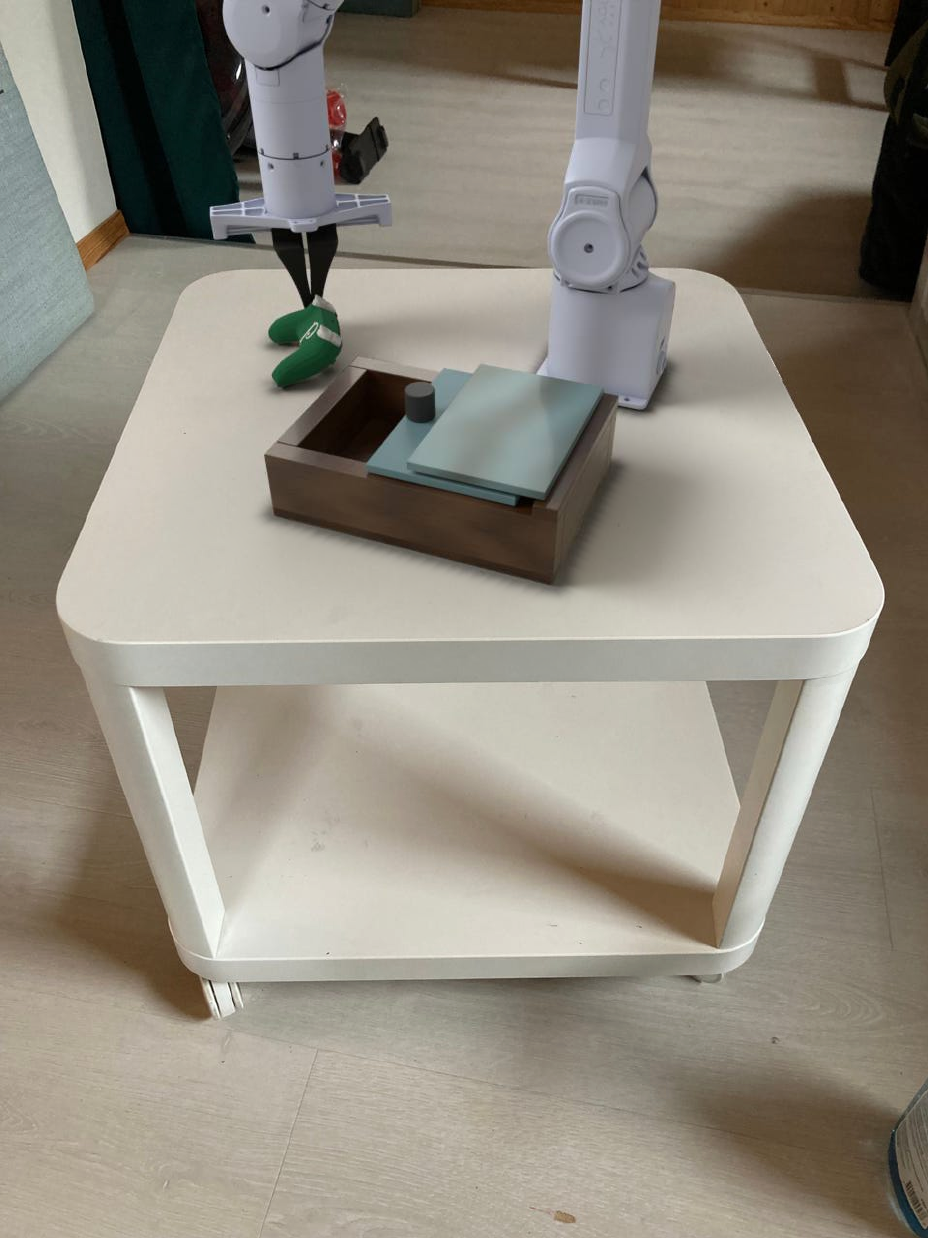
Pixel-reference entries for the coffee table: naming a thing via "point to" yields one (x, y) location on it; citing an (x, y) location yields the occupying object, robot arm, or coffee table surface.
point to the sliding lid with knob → (420, 417)
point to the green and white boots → (307, 341)
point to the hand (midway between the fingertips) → (313, 311)
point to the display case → (452, 465)
